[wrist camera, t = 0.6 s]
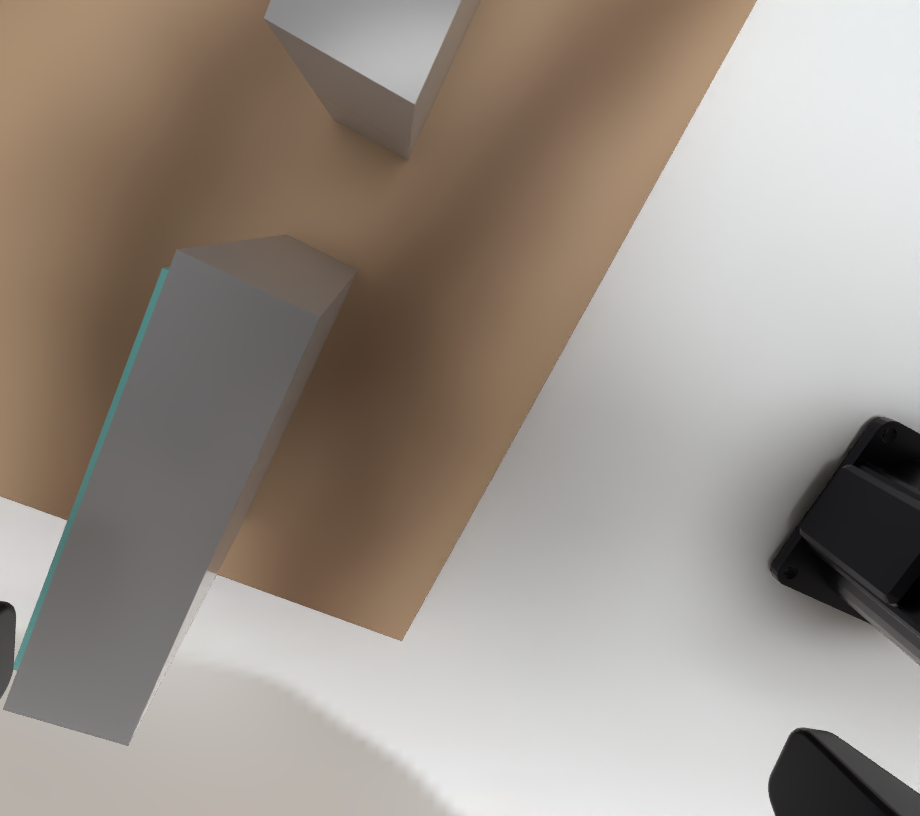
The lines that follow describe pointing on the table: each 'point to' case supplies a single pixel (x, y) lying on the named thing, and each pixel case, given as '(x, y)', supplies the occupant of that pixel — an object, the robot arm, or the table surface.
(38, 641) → the tile
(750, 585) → the table surface
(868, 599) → the robot arm
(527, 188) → the board
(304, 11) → the tile
